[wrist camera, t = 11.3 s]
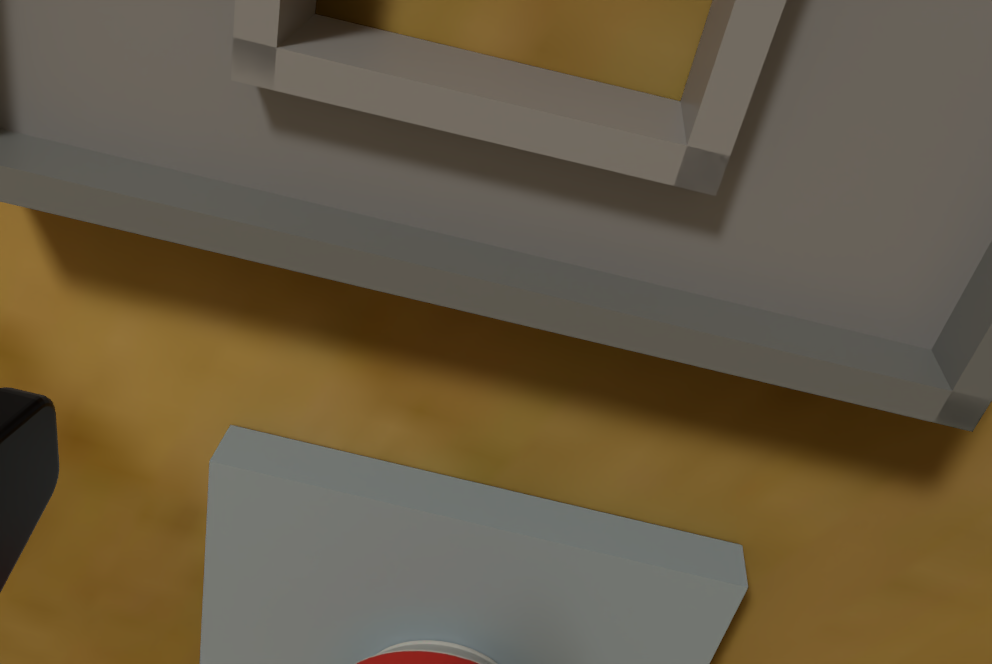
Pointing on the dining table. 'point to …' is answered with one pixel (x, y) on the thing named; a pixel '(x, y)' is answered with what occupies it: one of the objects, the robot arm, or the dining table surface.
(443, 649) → the beverage can
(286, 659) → the slate board
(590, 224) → the grey tray
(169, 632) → the dining table surface
